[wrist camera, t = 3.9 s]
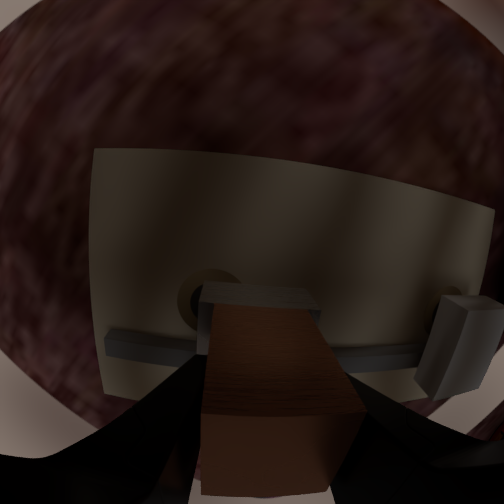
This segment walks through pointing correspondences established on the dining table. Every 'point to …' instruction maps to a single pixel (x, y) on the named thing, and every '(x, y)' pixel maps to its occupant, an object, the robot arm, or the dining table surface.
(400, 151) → the dining table surface
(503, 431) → the canned food
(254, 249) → the board
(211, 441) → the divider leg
